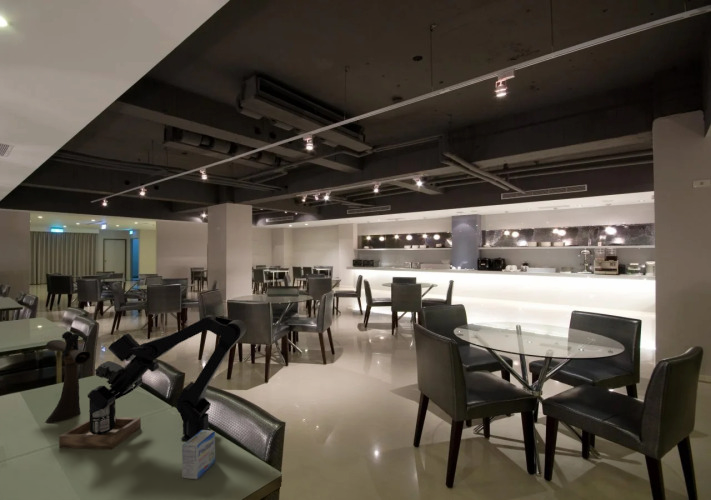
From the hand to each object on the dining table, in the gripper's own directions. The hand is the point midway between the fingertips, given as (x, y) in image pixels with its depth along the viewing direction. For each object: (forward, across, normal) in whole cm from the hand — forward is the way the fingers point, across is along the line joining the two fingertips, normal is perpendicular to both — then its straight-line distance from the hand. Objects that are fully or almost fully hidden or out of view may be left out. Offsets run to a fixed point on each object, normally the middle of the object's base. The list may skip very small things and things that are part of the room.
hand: (98, 407), depth 109 cm
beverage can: (+4, 0, +6) cm, 7 cm away
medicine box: (-20, +18, +34) cm, 44 cm away
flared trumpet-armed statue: (+22, -15, -9) cm, 29 cm away
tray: (+6, 0, +7) cm, 9 cm away
